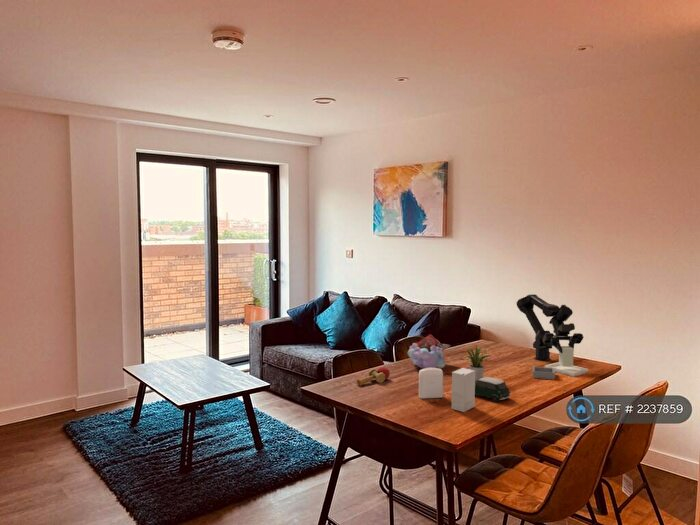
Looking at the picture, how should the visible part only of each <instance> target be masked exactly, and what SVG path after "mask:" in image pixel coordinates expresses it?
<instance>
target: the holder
mask: <svg viewBox="0 0 700 525" xmlns="http://www.w3.org/2000/svg"><path fill="white" fill-rule="evenodd" d="M555 374H556V372H554V368H544V366H541V367H540V366H532V379H540V380H541V379H542V380H543V379H544V380H554V381H555V380H556V378H555V377H556V376H555Z"/></svg>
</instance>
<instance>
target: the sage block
mask: <svg viewBox="0 0 700 525" xmlns="http://www.w3.org/2000/svg"><path fill="white" fill-rule="evenodd" d="M561 348H562V351H563V353H560V352H559V351H558V362H559V364H560V365H561V366H563V367H573V366H574V355H575V354H574V349H575V348H574V349H573V348H572V347H570V346H569V345H566V346H565V345H564V346H562V345H561Z"/></svg>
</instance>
